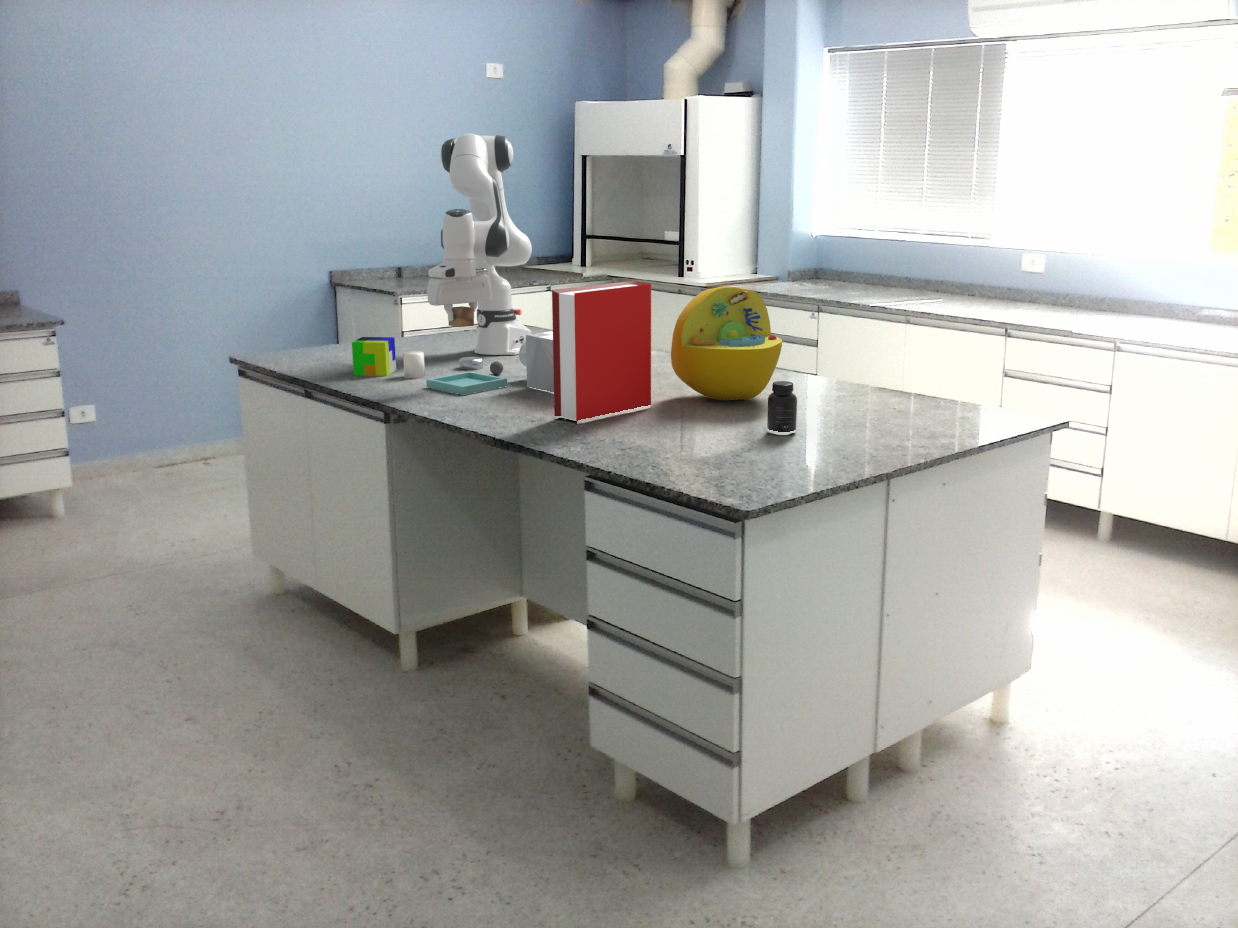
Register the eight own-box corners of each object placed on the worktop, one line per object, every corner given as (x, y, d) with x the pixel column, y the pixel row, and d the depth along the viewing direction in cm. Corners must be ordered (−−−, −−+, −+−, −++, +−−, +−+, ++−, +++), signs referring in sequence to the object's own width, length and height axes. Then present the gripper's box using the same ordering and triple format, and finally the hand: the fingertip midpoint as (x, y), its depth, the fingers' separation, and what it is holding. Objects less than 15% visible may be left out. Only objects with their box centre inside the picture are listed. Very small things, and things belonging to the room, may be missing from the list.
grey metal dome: (473, 365, 363) (472, 356, 363) (487, 368, 359) (487, 358, 358) (455, 368, 358) (454, 359, 358) (469, 371, 354) (469, 361, 353)
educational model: (716, 417, 292) (718, 296, 284) (649, 396, 316) (649, 284, 308) (806, 403, 307) (810, 288, 299) (736, 384, 331) (738, 277, 323)
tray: (470, 379, 341) (470, 371, 340) (507, 386, 330) (507, 378, 330) (426, 387, 330) (426, 379, 329) (463, 395, 319) (462, 387, 318)
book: (576, 425, 285) (574, 293, 277) (554, 419, 291) (551, 290, 282) (654, 407, 303) (654, 283, 295) (632, 403, 309) (632, 281, 300)
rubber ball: (497, 372, 351) (497, 359, 350) (506, 374, 348) (505, 361, 347) (487, 374, 348) (486, 361, 347) (496, 376, 345) (495, 363, 344)
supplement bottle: (764, 429, 279) (765, 380, 276) (792, 429, 280) (794, 379, 277) (770, 436, 273) (771, 386, 270) (799, 435, 273) (800, 385, 270)
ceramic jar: (416, 373, 350) (415, 350, 348) (429, 376, 346) (428, 353, 344) (400, 376, 346) (398, 353, 344) (412, 379, 342) (411, 355, 340)
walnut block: (462, 324, 331) (462, 306, 330) (474, 325, 327) (473, 307, 326) (448, 325, 327) (448, 307, 326) (459, 327, 324) (459, 309, 323)
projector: (636, 392, 323) (636, 337, 319) (583, 402, 311) (583, 345, 307) (556, 374, 348) (555, 323, 344) (505, 383, 336) (503, 330, 332)
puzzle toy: (396, 370, 357) (394, 337, 354) (386, 376, 347) (384, 342, 344) (364, 369, 358) (362, 337, 355) (353, 375, 348) (351, 342, 345)
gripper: (481, 267, 333) (482, 316, 336) (423, 271, 319) (425, 321, 322) (495, 268, 329) (497, 317, 332) (437, 272, 314) (439, 323, 318)
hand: (461, 319), depth 327 cm, fingers closed on walnut block, 5 cm apart
